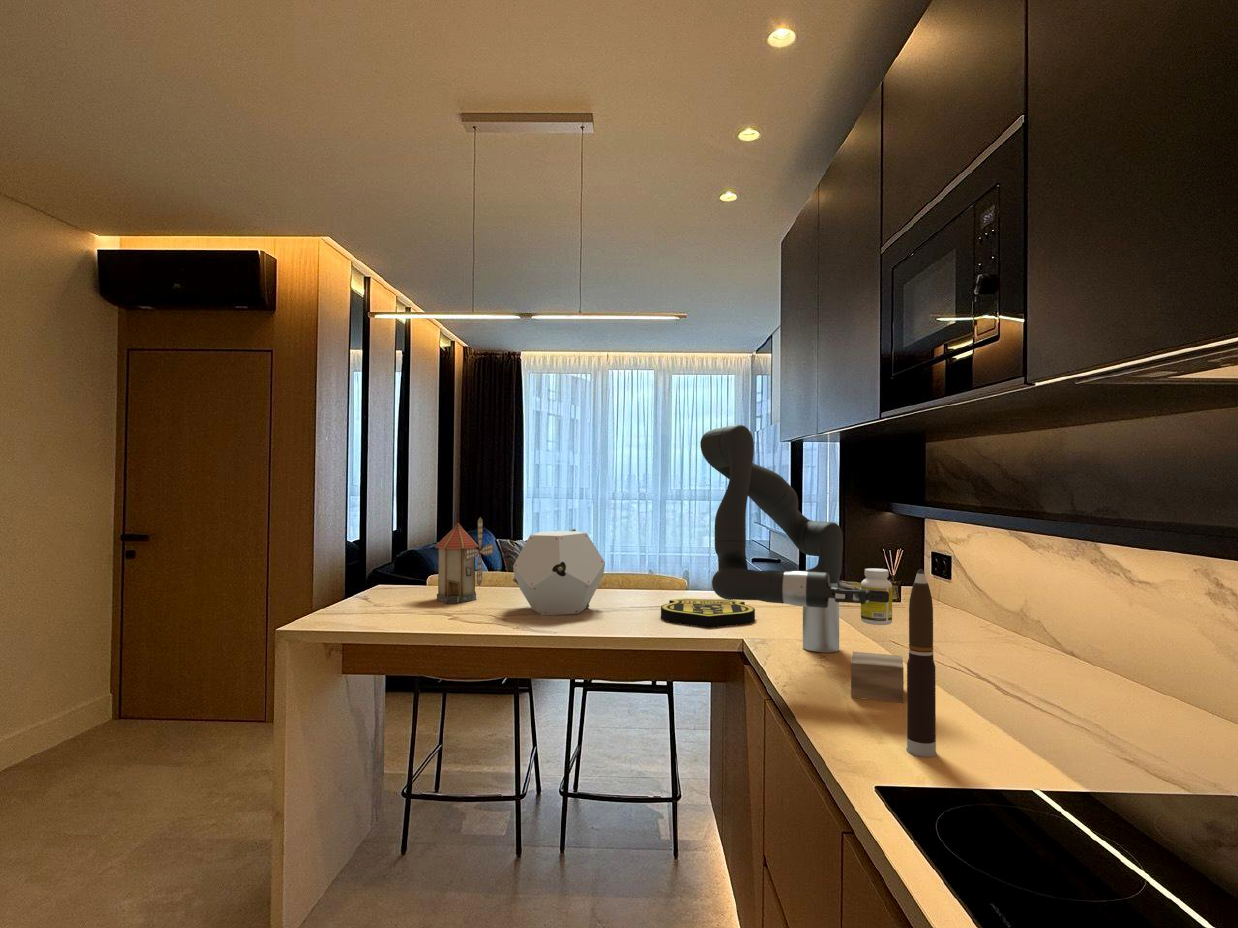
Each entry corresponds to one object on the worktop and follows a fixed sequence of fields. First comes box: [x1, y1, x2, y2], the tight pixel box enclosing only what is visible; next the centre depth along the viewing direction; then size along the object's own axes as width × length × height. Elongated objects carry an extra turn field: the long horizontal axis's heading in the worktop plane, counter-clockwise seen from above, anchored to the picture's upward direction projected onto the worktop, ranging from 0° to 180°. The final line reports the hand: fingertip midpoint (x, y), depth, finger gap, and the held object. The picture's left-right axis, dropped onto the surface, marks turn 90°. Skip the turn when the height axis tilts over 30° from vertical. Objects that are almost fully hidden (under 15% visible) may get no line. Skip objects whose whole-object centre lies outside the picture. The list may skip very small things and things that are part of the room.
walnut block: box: [850, 651, 905, 704], centre depth 149 cm, size 10×10×7 cm
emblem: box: [660, 598, 756, 629], centre depth 226 cm, size 30×4×30 cm
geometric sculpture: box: [512, 528, 606, 616], centre depth 238 cm, size 30×30×30 cm
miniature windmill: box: [434, 516, 495, 605], centre depth 257 cm, size 24×20×30 cm
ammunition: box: [906, 568, 937, 758], centre depth 117 cm, size 5×5×30 cm
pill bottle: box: [860, 567, 893, 626], centre depth 149 cm, size 6×6×11 cm
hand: (888, 594), depth 148 cm, fingers closed on pill bottle, 6 cm apart
